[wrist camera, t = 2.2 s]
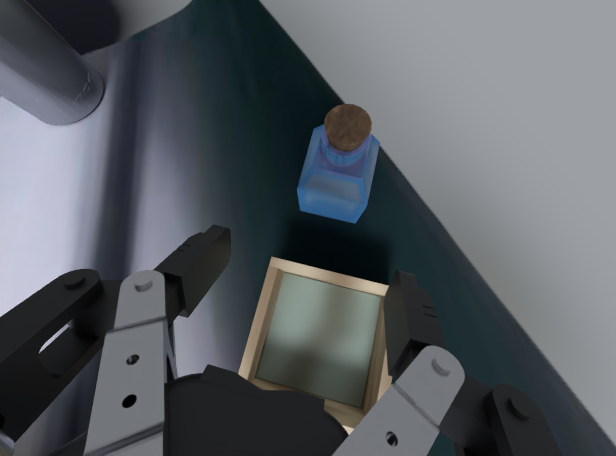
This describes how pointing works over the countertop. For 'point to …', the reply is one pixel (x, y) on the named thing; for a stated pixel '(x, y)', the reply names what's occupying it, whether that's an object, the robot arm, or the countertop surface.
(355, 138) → the perfume bottle
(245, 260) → the countertop surface
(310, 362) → the birch box
